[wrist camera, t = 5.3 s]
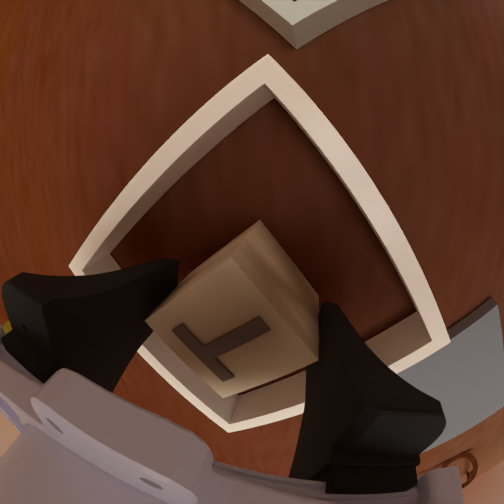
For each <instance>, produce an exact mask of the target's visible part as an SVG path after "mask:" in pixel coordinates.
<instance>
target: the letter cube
mask: <svg viewBox="0 0 504 504" xmlns="http://www.w3.org/2000/svg"><path fill="white" fill-rule="evenodd" d="M318 314H319V295H318V294H317V293H316V291H315V290H314V289H313V287H312V286H311V285H310V284H309V282H308V281H307V280H306V278H305V277H304V276H303V274H302V273H301V272H300V270H299V269H298V268H297V266H296V265H295V264H294V263H293V261H292V260H291V259H290V257H289V256H288V255H287V253H286V252H285V251H284V250H283V248H282V247H281V246H280V244H279V243H278V242H277V241H276V239H275V238H274V237H273V235H272V234H271V233H270V232H269V230H268V229H267V228H266V226H265V225H264V224H263V223H262V221H261V220H258V221H257V222H256V223H254V224H253V225H252V226H250V227H249V228H248V229H246V230H245V231H244V232H242V233H241V234H240V235H238V236H237V237H236V238H235V239H233V240H232V241H231V242H229V243H228V244H227V245H225V246H224V247H223V248H221V249H220V250H219V251H217V252H216V253H215V254H214V255H212V256H211V257H210V258H208V259H207V260H206V261H204V262H203V263H202V264H201V265H199V266H198V267H197V268H195V269H194V270H193V271H192V272H190V273H189V274H188V276H187V277H186V278H185V279H184V280H183V281H182V282H181V283H180V284H179V285H178V286H177V287H176V288H175V289H174V290H173V291H172V292H171V293H170V294H169V295H168V297H167V298H166V299H165V300H164V301H163V302H162V303H161V304H160V305H159V306H158V307H157V308H156V309H155V310H154V311H153V312H152V313H151V314H150V315H149V317H148V318H147V319H146V320H145V322H146V323H147V324H148V325H149V326H150V327H151V328H152V329H153V331H154V332H155V333H156V334H157V335H158V336H159V337H160V338H161V339H162V340H163V341H164V342H165V343H166V344H167V346H168V347H169V348H170V349H171V350H172V351H173V352H174V353H175V354H176V355H177V356H178V357H179V358H180V359H181V360H182V361H183V362H184V363H185V364H186V365H187V366H188V367H189V368H190V369H191V370H193V371H194V372H195V373H196V374H197V375H198V376H199V377H200V378H201V379H202V380H203V381H204V382H205V383H206V384H208V385H209V386H210V387H211V388H212V389H213V390H214V391H215V392H216V393H218V394H219V395H220V396H221V397H222V398H225V397H228V396H231V395H234V394H237V393H240V392H242V391H245V390H248V389H251V388H254V387H256V386H259V385H262V384H264V383H267V382H269V381H272V380H274V379H277V378H279V377H282V376H284V375H287V374H289V373H291V372H294V371H296V370H298V369H301V368H303V367H305V366H307V365H310V364H312V363H314V362H316V361H318V360H319V328H318Z"/></svg>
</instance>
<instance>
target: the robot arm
mask: <svg viewBox="0 0 504 504" xmlns="http://www.w3.org/2000/svg"><path fill="white" fill-rule="evenodd" d="M178 267H179V261H176V260H172V259H169V258H163V259H158V260H154V261H150V262H147V263H143V264H139V265H136V266H132V267H128V268H124V269H120V270H115V271H111V272H106V273H100V274H93V275H81V276H47V275H38V274H31V273H25V272H23V273H20V274H18V275H16V276H14V277H13V278H11V279H9V280H8V281H6V282H4V284H3V286H2V298H3V303H4V306H5V309H6V312H7V315H8V318H9V321H10V324H11V327H12V330H11V331H10V332H8V333H7V334H6V335H5V332H4V330H3V328H2V326H1V324H0V411H1V412H2V413H3V414H4V416H5V417H6V418H7V419H8V420H9V421H10V422H11V423H12V425H13V426H14V427H15V428H16V429H17V430H18V431H19V432H20V433H21V434H20V435H19V436H18V437H17V438H16V440H15V441H14V442H13V443H12V444H11V446H10V447H9V448H8V449H7V450H6V452H5V453H4V454H3V455H2V457H1V458H0V504H464V498H463V492H462V485H461V480H460V475H459V470H458V466H451V467H445V468H438V469H434V470H432V471H429V472H427V473H426V474H424V475H423V476H421V477H420V478H419V479H418V480H417V474H416V466H418V465H419V464H420V456H419V454H421V453H422V452H423V451H424V450H425V449H427V448H428V447H429V446H430V445H431V444H432V443H433V442H435V441H436V440H437V439H438V437H439V436H440V435H441V434H442V432H443V431H444V429H445V427H446V418H445V415H444V412H443V409H442V406H441V403H440V401H439V400H437V399H435V398H433V397H431V396H429V395H427V394H426V393H424V392H422V391H420V390H418V389H417V388H415V387H414V386H412V385H411V384H409V383H408V382H406V381H405V380H404V379H402V378H401V377H400V376H398V375H397V374H396V373H395V372H394V371H392V370H391V369H390V368H389V367H388V366H387V365H386V364H384V363H383V362H382V361H381V360H380V359H379V358H378V357H377V356H376V355H375V353H374V352H373V351H372V350H371V349H370V348H369V347H368V346H367V344H366V343H365V342H364V341H363V339H362V338H361V337H360V336H359V334H358V333H357V332H356V330H355V329H354V327H353V326H352V325H351V323H350V322H349V320H348V319H347V317H346V316H345V314H344V313H343V311H342V310H341V309H340V307H339V306H338V305H337V304H335V303H331V302H327V301H323V304H322V306H321V309H320V312H319V314H318V328H319V360H318V361H316V362H314V363H312V364H310V365H307V366H306V389H305V406H304V412H303V418H302V424H301V429H300V434H299V438H298V443H297V447H296V451H295V455H294V459H293V463H292V467H291V470H290V474H289V477H282V476H276V475H271V474H265V473H261V472H256V471H251V470H247V469H243V468H239V467H235V466H231V465H228V464H224V463H221V462H217V461H214V460H213V459H214V457H213V455H212V453H211V450H210V448H209V446H208V445H207V443H205V442H204V441H203V440H202V439H200V438H199V437H198V436H197V435H195V434H194V433H193V432H192V431H190V430H188V429H186V428H184V427H182V426H180V425H178V424H176V423H174V422H172V421H170V420H168V419H166V418H164V417H161V416H159V415H157V414H154V413H152V412H150V411H148V410H145V409H143V408H141V407H139V406H137V405H135V404H133V403H131V402H129V401H127V400H125V399H123V398H121V397H119V396H117V395H115V394H113V393H112V392H113V390H114V388H115V387H116V385H117V383H118V381H119V379H120V378H121V376H122V374H123V372H124V371H125V369H126V367H127V366H128V364H129V363H130V361H131V359H132V358H133V356H134V355H135V353H136V352H137V351H138V349H139V348H140V347H141V345H142V344H143V343H144V342H145V341H146V339H147V338H148V337H149V336H150V335H151V334H152V332H153V329H152V328H151V327H150V326H149V325H148V324H147V323H146V322H145V320H146V319H147V318H148V317H149V315H150V314H151V313H152V312H153V311H154V310H155V309H156V308H157V307H158V306H159V305H160V304H161V303H162V302H163V301H164V300H165V299H166V298H167V297H168V295H169V294H170V293H171V292H172V291H173V290H174V289H175V288H176V287H177V281H178Z"/></svg>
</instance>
